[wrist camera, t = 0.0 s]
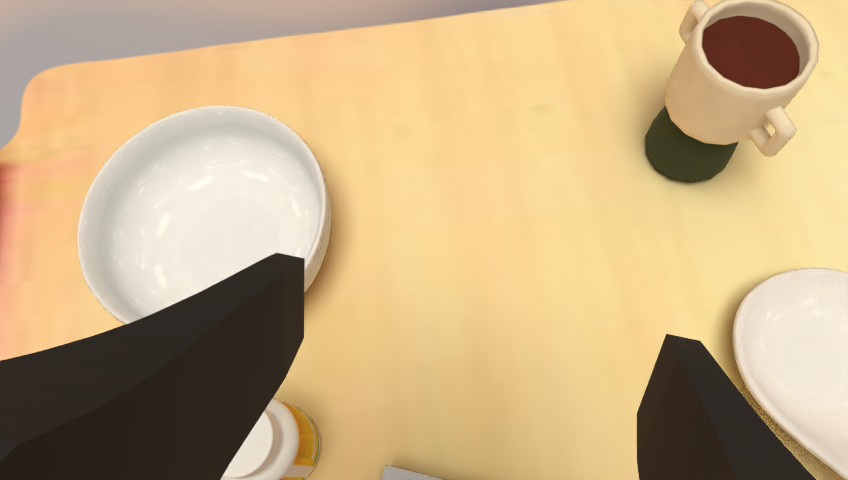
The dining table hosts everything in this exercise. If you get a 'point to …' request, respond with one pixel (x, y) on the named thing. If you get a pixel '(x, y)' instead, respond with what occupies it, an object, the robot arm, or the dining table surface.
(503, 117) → the dining table surface
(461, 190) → the dining table surface
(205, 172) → the cereal bowl
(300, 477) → the supplement bottle
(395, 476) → the tray
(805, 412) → the spoon rest
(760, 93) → the character mug
